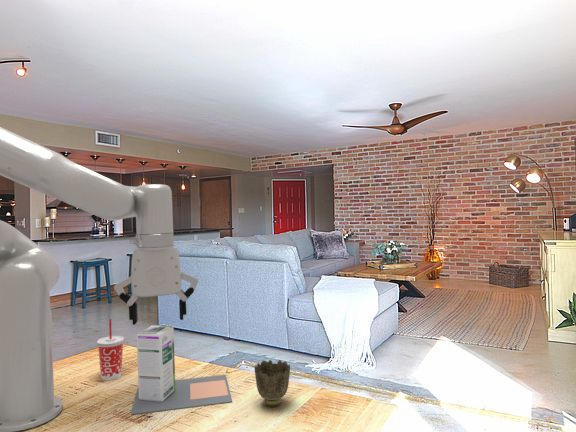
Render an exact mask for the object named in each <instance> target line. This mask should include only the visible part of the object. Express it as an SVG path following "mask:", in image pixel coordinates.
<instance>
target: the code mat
mask: <svg viewBox="0 0 576 432" xmlns="http://www.w3.org/2000/svg"><path fill="white" fill-rule="evenodd" d="M228 403H233V398H232V394H231V390H230V387H229V383H228V378H227V375H226V374H221V375H220V374H219V375H213V376H212V375H211V376H203V377H193V378H192V377H191V378H185V379H183V378H182V379H175V391H173V392H172V393H171V394H170V395H169V396H168V397H167V398H166V399H165V400H164V401H163V402H157V401H146V400H140V399H139V388H138V387H137V390H136V394H135V397H134V401H133V404H132V409H131V412H130V415H131V416H132V415H133V416H134V415H135V416H136V415H140V414H142V415H143V414H148V413H158V412H165V411H173V410H181V409H189V408H196V407H197V408H198V407H203V406H204V407H205V406H211V405H212V406H214V405H221V404H228Z"/></svg>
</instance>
